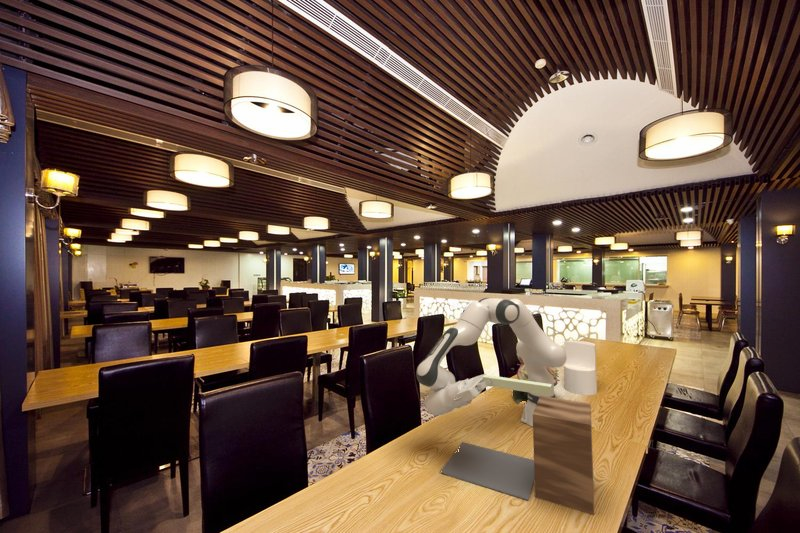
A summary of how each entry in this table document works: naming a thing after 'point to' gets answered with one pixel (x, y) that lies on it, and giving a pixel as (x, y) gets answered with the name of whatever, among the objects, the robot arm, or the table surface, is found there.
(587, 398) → the table surface
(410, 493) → the table surface
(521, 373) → the rose bouquet
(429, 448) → the table surface
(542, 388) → the stick
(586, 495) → the wooden pedestal block
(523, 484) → the mat
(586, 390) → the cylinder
